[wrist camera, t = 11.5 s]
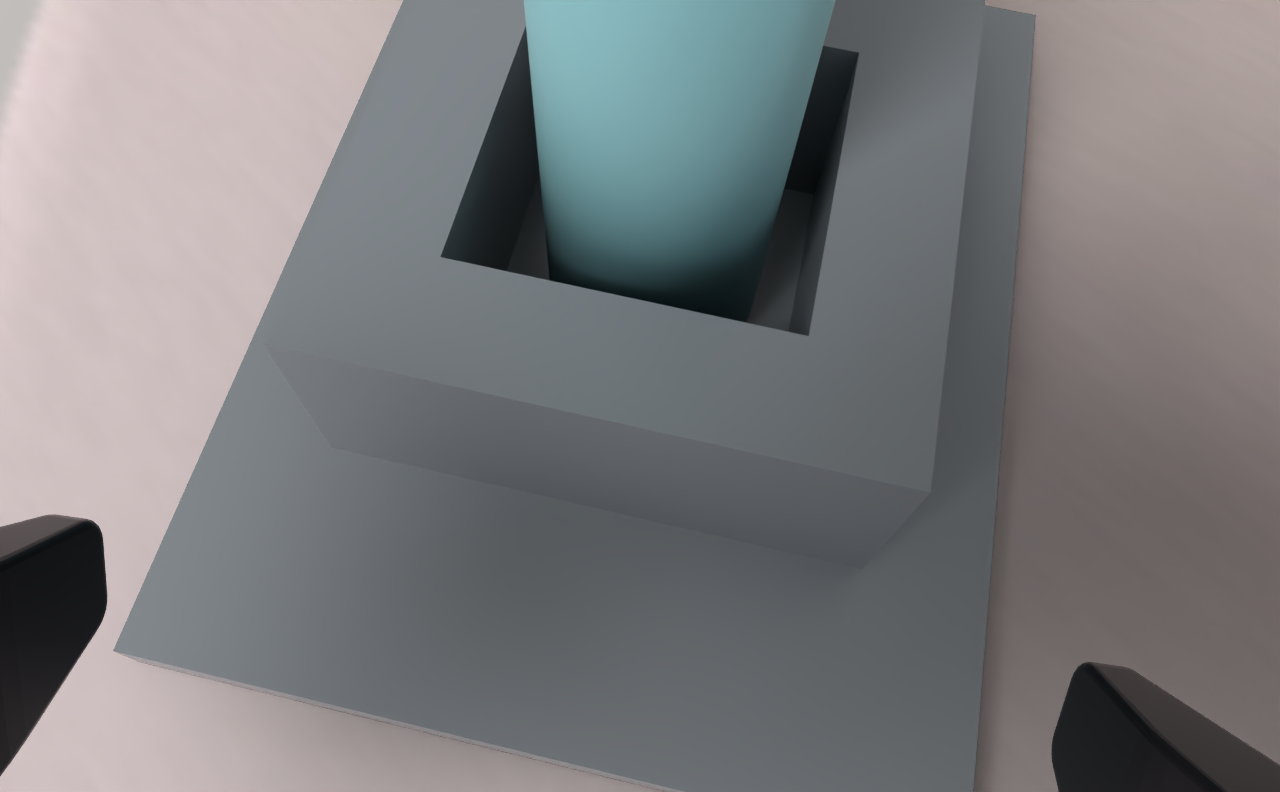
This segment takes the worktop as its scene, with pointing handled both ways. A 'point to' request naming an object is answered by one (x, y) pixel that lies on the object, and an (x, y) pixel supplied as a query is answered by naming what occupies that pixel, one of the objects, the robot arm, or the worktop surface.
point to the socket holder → (628, 437)
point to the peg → (668, 140)
